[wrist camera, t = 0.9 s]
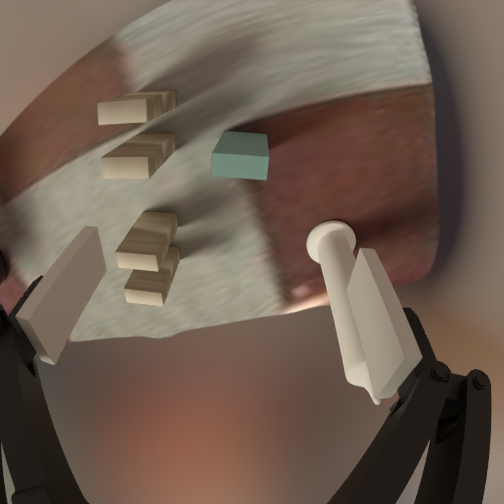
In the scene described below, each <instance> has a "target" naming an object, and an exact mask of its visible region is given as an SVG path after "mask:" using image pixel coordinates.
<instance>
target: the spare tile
mask: <svg viewBox="0 0 504 504" xmlns="http://www.w3.org/2000/svg"><path fill="white" fill-rule="evenodd" d="M268 163H269V151H268V141H267V134H259V133H246V132H231V131H224V133H223V135H222V136H221V138H220V140H219V142H218V143H217V145H216V147H215V149H214V150H213V152H212V165H211V176H214V177H230V178H244V179H257V180H267V172H268Z"/></svg>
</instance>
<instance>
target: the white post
mask: <svg viewBox="0 0 504 504" xmlns="http://www.w3.org/2000/svg"><path fill="white" fill-rule="evenodd" d="M355 245H356V237H355V234H354V232H353V230H352V229H351V228H350V227H349V226H348V225H347V224H345V223H343V222H340V221H327V222H324V223H321V224H319V225H318V226H316V227H315V228H314V229H313V230H312V231H311V233H310V234H309V236H308V239H307V250H308V253H309V255H310V257H311V258H312V259H313V260H314V261H316V262H318V263H320V264H321V268H322V272H323V276H324V280H325V284H326V288H327V292H328V296H329V300H330V305H331V309H332V313H333V317H334V322H335V326H336V331H337V336H338V340H339V345H340V349H341V355H342V359H343V364H344V369H345V374H346V378H347V380H348V382H349V383H351V384H353V385H356V386H361V387H364V388H365V389H366V390H367V391H368V392H369V394H370V396H371V398H372V399H373V401H374V403H375V404H379V403H380V399H374V394H373V390H372V385H371V381H370V377H369V373H368V369H367V365H366V361H365V357H364V353H363V349H362V345H361V341H360V337H359V334H358V330H357V326H356V323H355V319H354V316H353V312H352V309H351V305H350V302H349V299H348V295H347V292H346V290H347V287H348V284H349V281H350V278H351V275H352V272H353V269H354V266H355V263H356V260H355V257H354V255H353V251H354V248H355Z"/></svg>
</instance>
